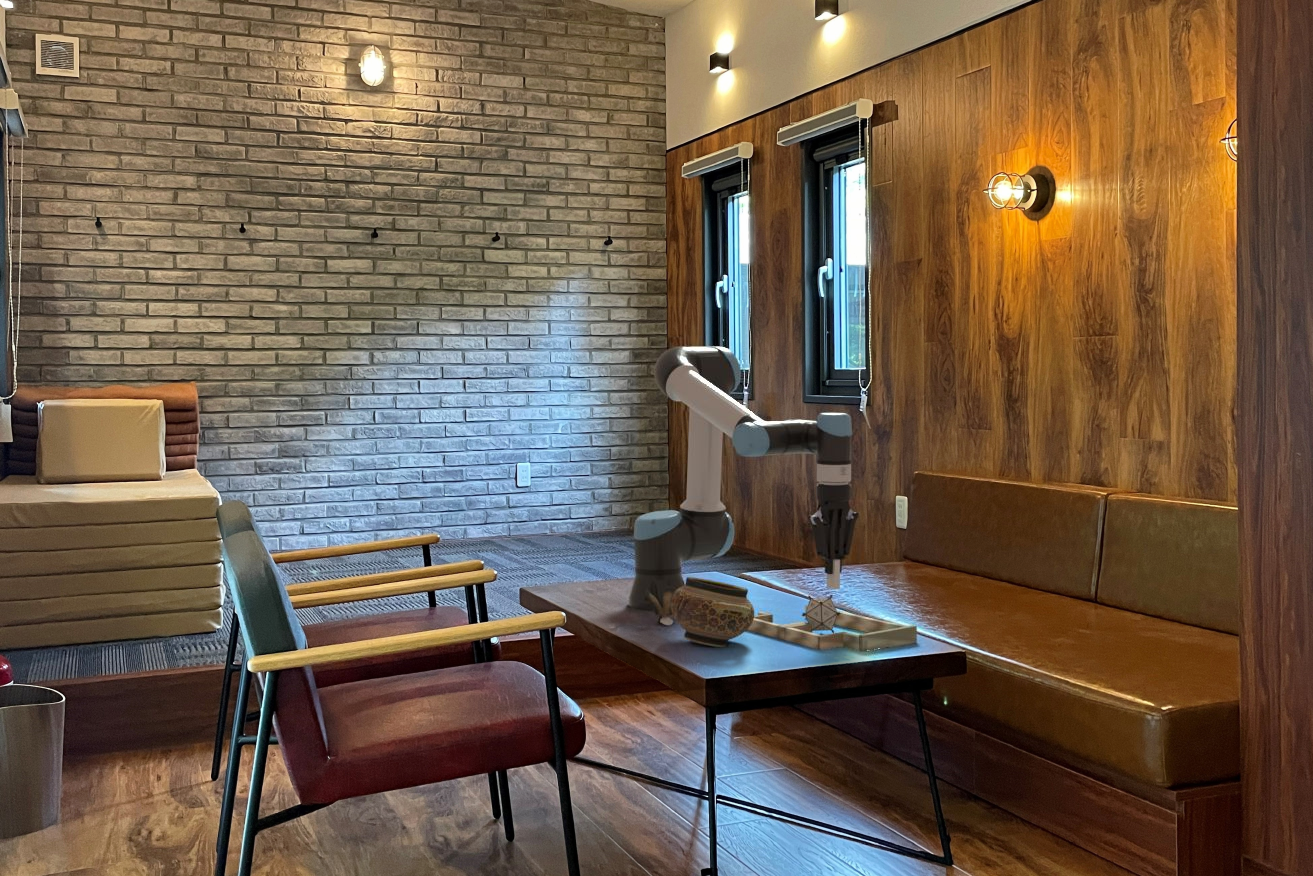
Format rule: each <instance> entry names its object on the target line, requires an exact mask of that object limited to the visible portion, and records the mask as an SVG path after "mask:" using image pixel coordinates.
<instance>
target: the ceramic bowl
mask: <svg viewBox="0 0 1313 876" xmlns="http://www.w3.org/2000/svg"><path fill="white" fill-rule="evenodd" d="M748 593H749V589H748V588H746V587H742V586H738V585H734V584H730V583H726V582H721V581H715V580H712V579H704V578H701V577H700V578H699V577H691V576H688V577H686V578H685V585H684V586H682V587H680V588H678V589H677V590H676V591H675V592H674V593H673V595H672V597H671V610H672V613H673V615H672V616H673V618H674V619H675V621H676V622H677V624H678V625H679V626H680V627H681V628H682V629H683V630H684V631H685V632H684V636H683V637H684V639H686V640H689V641H691V642H694V643H697V644H699V645H700V644H701V645H706V646H710V647H716V648H724V647H727V646H729V643H728V642H729V641H730V640H733V639H734V638H738V637H739V636H741V635H743V634H744V633H745V632H746V631H747V629H748V628H749V627H750V625H751V624H752V622H753V619H754V616H755V609H754V606H753V604H752V602H751V601H750V600H749V599H748V596H747V595H748Z"/></svg>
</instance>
